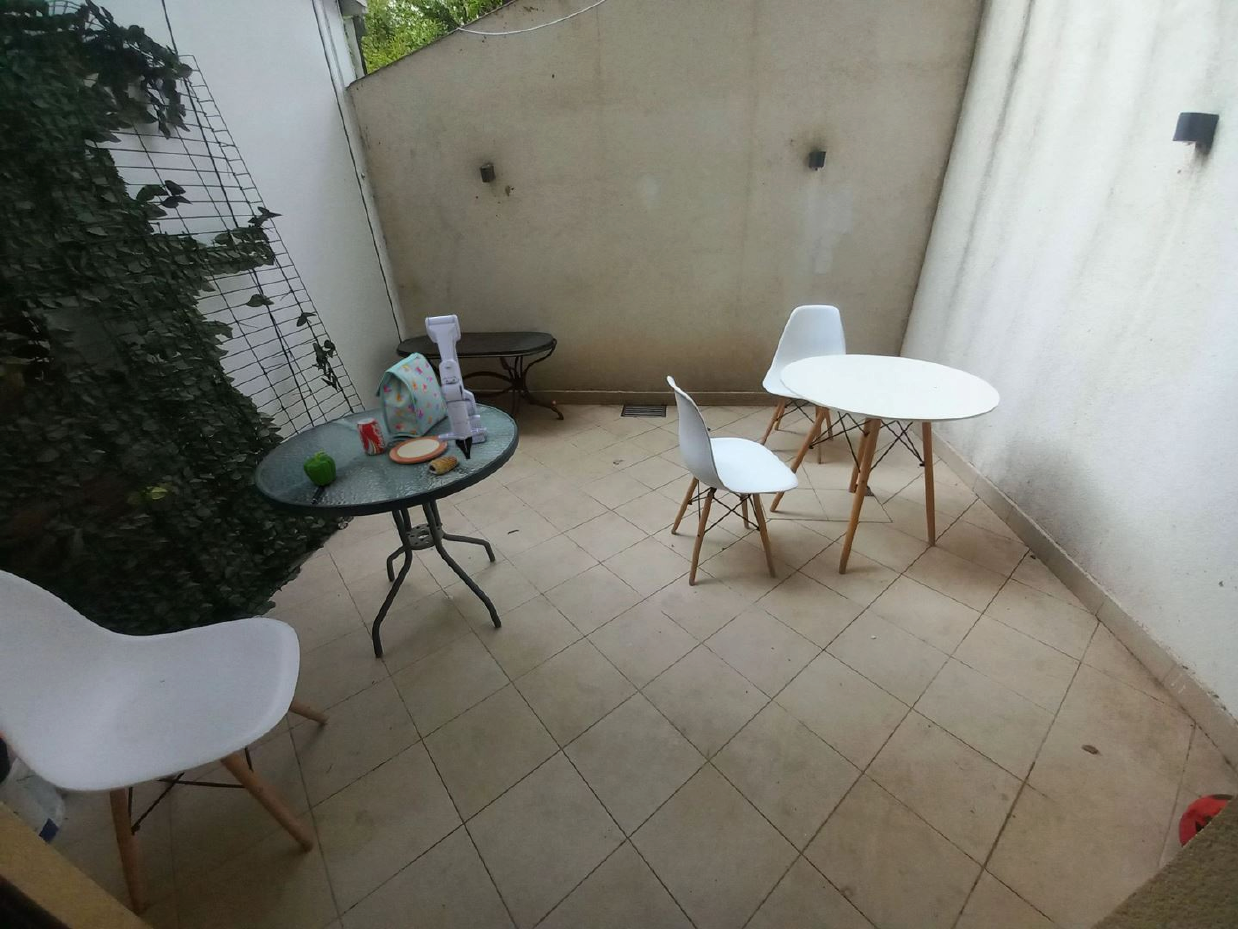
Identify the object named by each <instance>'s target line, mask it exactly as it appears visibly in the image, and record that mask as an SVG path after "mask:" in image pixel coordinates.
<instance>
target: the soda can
mask: <svg viewBox="0 0 1238 929" xmlns="http://www.w3.org/2000/svg"><path fill="white" fill-rule="evenodd" d="M356 424H357V425H356V430H357V434H358V436H359V437H358V438H359V439H360V443H361V445H362V448H363V450H364V452H365V454H367V455H371V456H375V455H378V454H381V453H383V452H384V451H385V450H386V448H387V446H386V442H385V439H384V436H383V432H382V429H381V426H380V424H379V422H378V421H377V420H376V418H375V417H372V416H370V417H369V416H368V417H363V418H360V419H359V420H357V421H356Z"/></svg>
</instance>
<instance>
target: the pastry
mask: <svg viewBox="0 0 1238 929" xmlns="http://www.w3.org/2000/svg"><path fill="white" fill-rule="evenodd" d="M458 461H459V460H458V458H456V457H455V456H443V457H437V458H435V459H433V460H431V461H430V462H428V464H427V467H426V468H427V469H426V470H427V471H428V472H429V473H430V474H434V475H443V474H445V473H446V472H450V471H451V470H453V469H454V468H455V467H456V466H457V465H458V463H459V462H458Z"/></svg>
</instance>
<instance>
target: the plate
mask: <svg viewBox="0 0 1238 929" xmlns="http://www.w3.org/2000/svg"><path fill="white" fill-rule="evenodd" d="M447 448H448V441H446V442H444V443H440V441H439V436H421V437H420V438H415V437H414V438H411V439H408V440H406V441H402V442H401V443H399V444H397V445H396V446H394V447H393V448H392V449H391V450H390V451H389V458H390V460H391V461H392V462H394V463H398V464H403V465H404V464H406V465H408V464H417V463H422V462H426V461H429V460H432V459H434V458H436V457H438V456H439V455H441V454H443V453H444V452H445V451H446V450H447Z"/></svg>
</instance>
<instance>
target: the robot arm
mask: <svg viewBox="0 0 1238 929" xmlns="http://www.w3.org/2000/svg"><path fill="white" fill-rule="evenodd" d="M424 321H425V328H426V333H427V335H428V337H429V338H430V340H431V341H432V343H435V344H437V346H438V350H439V354H440V358H441V362H440V363H439V364H438V369H439V375H440V376H439V377H440V382H441V386H440V389H441V395H442V399H443V401H444V403H445V407H446V409H447V414H448V415H447V417H448V419H449V424H450V427H451V431H450V432H448V433H444V434H439V435H438V437H439V441H440V443H444V442H452V441H454V443H455V445H456V446H457V448H458V449H460V451H461V452H462V454H463V456H464V457H465V460H466V461H467V460H471V459H472V458H471V449H472V445H473V444H477V443H478V444H479V443H483V442H485V440H486V438H485V437H486V436H487V434H488V433H487V428H486V427H483V423H482V419H481V415H480V414H478V409H477V404H476V399H475V396H474V394H473V392H471V391H469V390H467V389H465V387H464V382H463V378H462V373H461V367H460V363H459V358H458V354H457V348H456V344H457V342H458V341H460V340H461V337H462V334H461V328H460V323H459V318H458V316H457V315H456V314H451V315H443V316H434V317H428V316H427V317H426V318H425V319H424Z"/></svg>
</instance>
